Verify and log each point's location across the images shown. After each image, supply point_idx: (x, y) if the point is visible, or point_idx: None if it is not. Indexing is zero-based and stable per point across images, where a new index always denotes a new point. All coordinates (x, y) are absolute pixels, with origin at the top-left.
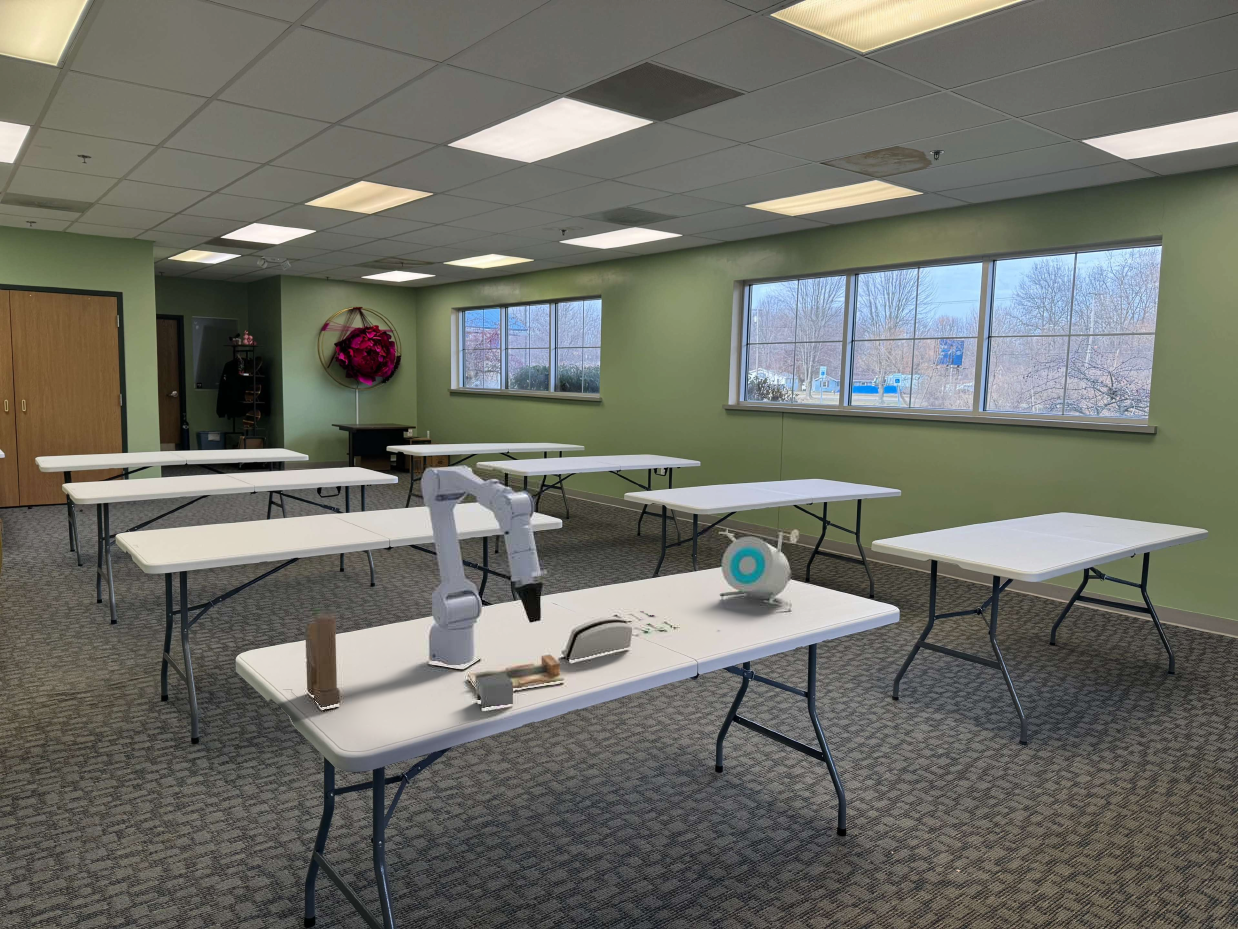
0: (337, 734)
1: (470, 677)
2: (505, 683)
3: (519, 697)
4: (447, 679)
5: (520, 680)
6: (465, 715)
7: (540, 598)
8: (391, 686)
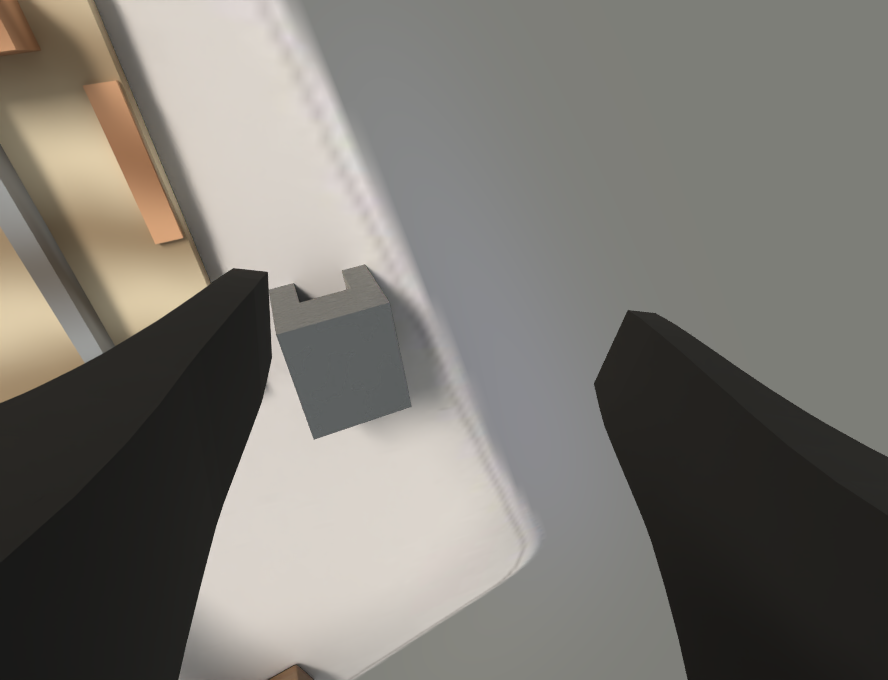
0: (438, 609)
1: None
2: (395, 330)
3: (271, 236)
4: None
5: (124, 233)
6: None
7: (862, 445)
8: None
